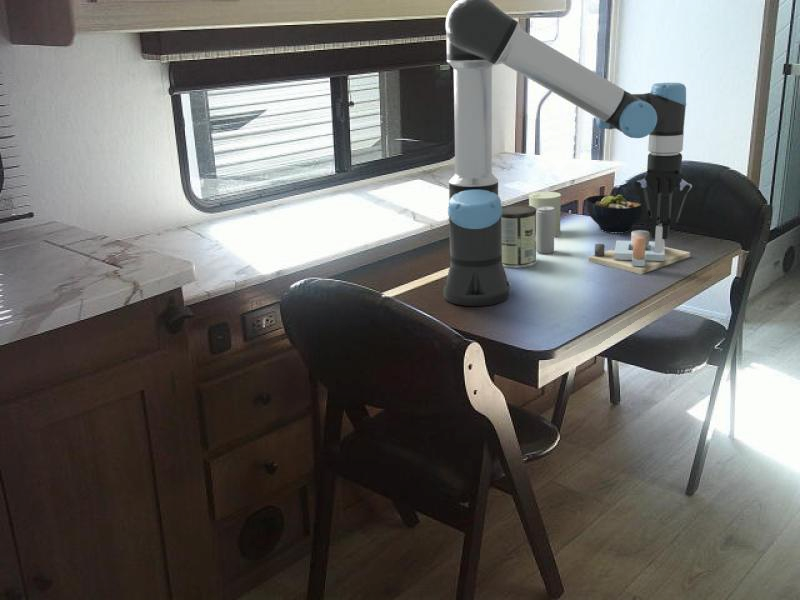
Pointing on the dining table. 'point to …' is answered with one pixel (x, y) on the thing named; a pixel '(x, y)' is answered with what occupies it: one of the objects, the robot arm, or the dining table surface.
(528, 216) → the coffee can
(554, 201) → the can
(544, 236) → the beverage can
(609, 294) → the dining table surface
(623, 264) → the post base
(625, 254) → the flange plate
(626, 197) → the bowl
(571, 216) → the dining table surface
